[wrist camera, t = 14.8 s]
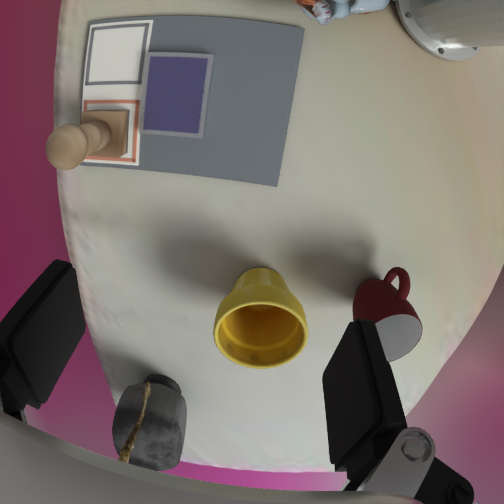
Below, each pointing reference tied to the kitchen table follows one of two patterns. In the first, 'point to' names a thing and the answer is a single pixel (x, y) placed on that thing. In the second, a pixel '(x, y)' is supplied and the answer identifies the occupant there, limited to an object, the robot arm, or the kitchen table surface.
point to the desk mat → (227, 98)
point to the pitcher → (150, 424)
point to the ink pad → (176, 94)
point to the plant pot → (260, 321)
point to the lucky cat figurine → (339, 8)
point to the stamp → (89, 138)
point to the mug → (389, 313)
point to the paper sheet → (117, 77)
